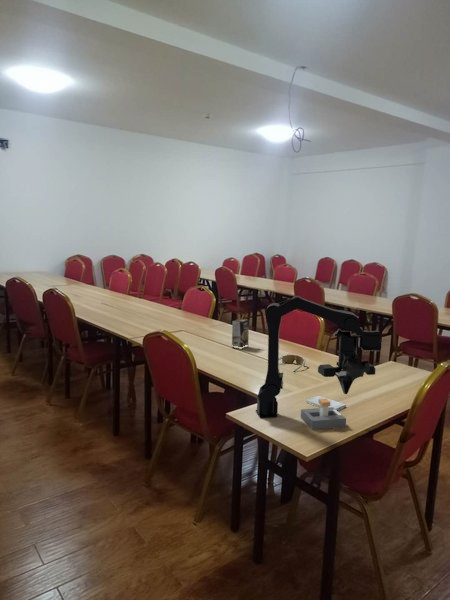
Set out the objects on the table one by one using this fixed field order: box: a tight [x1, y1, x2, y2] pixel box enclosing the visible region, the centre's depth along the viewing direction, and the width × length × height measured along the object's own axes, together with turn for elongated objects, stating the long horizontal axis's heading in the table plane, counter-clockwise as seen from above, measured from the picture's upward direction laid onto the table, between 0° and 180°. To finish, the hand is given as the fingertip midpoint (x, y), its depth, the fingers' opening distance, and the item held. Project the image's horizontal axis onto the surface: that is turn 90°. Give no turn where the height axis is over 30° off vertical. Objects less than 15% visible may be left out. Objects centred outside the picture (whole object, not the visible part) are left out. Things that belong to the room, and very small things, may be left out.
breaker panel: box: [300, 407, 347, 431], centre depth 148 cm, size 12×10×3 cm
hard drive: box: [305, 395, 347, 411], centre depth 165 cm, size 2×8×12 cm
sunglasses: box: [279, 353, 306, 373], centre depth 215 cm, size 14×15×5 cm
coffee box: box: [231, 318, 250, 347], centre depth 252 cm, size 9×6×16 cm
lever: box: [318, 398, 330, 416], centre depth 148 cm, size 3×3×6 cm
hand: (345, 393), depth 149 cm, fingers closed
